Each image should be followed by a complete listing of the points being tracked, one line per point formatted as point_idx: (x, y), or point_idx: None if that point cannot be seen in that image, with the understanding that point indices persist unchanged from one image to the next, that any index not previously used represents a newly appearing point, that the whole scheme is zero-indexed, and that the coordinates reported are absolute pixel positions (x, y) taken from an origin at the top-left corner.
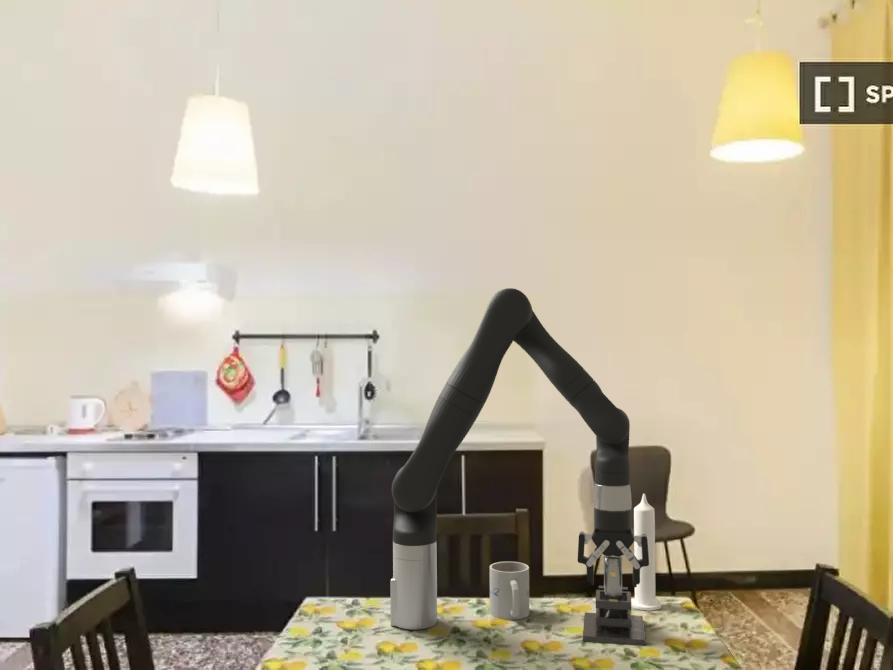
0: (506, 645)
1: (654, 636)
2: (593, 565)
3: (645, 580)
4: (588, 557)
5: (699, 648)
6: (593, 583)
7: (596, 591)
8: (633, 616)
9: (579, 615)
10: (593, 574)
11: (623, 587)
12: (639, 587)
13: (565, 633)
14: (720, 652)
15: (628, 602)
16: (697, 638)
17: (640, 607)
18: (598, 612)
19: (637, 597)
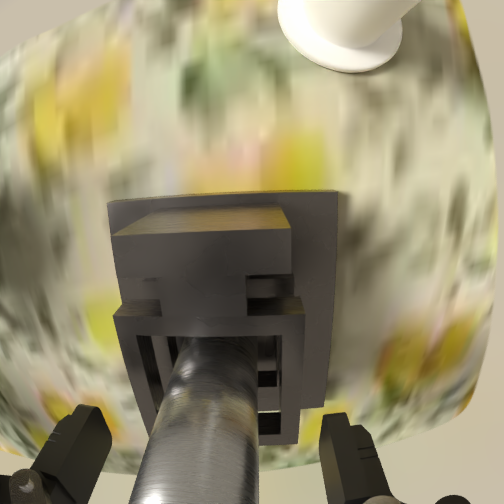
0: (31, 414)
1: (357, 333)
2: (64, 487)
3: (386, 6)
4: (13, 499)
5: (444, 374)
6: (109, 447)
7: (120, 339)
8: (301, 207)
9: (95, 186)
10: (95, 481)
11: (263, 237)
12: (341, 10)
13: (96, 354)
14: (474, 378)
15: (285, 444)
16: (463, 314)
17: (328, 66)
18: (162, 347)
19: (320, 23)
